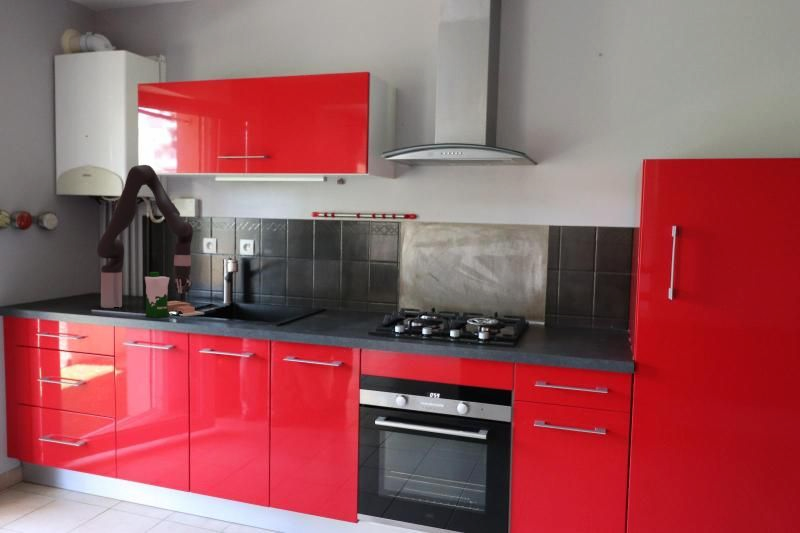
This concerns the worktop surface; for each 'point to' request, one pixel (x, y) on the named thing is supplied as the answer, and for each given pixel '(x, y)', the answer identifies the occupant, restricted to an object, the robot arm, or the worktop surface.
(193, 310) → the tile
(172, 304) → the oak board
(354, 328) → the worktop surface
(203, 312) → the mat
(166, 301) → the milk carton
